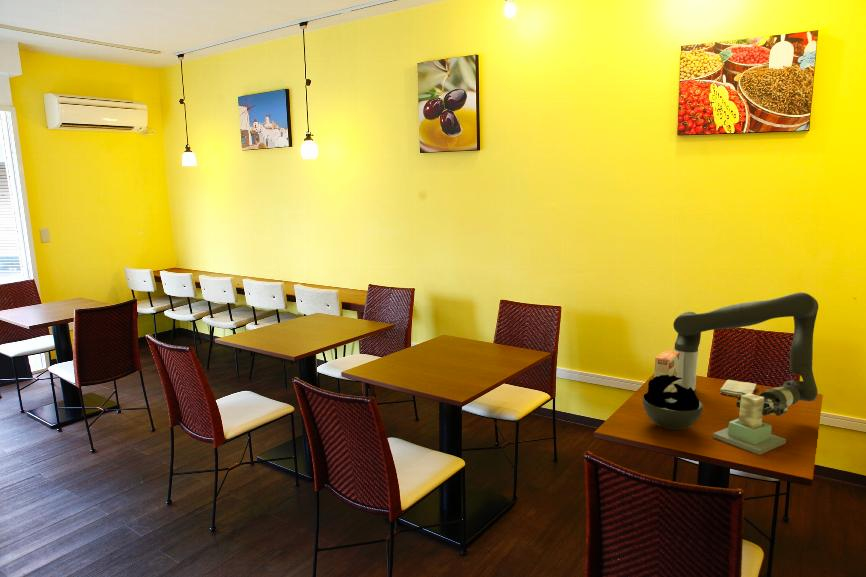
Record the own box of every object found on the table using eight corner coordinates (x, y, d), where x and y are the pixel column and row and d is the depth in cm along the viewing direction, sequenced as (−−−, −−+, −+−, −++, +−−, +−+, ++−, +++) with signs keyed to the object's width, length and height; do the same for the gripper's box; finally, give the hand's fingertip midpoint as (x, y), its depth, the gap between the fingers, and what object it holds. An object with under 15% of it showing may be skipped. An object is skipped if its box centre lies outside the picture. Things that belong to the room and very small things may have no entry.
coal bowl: (651, 412, 219) (654, 365, 216) (707, 425, 207) (711, 376, 203) (632, 429, 204) (635, 378, 201) (691, 444, 191) (695, 391, 188)
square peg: (737, 435, 195) (741, 395, 193) (745, 431, 198) (749, 393, 195) (752, 440, 191) (755, 400, 189) (760, 436, 194) (764, 397, 191)
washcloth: (719, 395, 239) (719, 388, 238) (725, 383, 253) (726, 377, 253) (751, 401, 232) (751, 393, 232) (756, 388, 247) (757, 382, 246)
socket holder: (712, 437, 197) (714, 420, 196) (738, 427, 205) (740, 411, 204) (759, 455, 184) (761, 437, 183) (785, 443, 192) (787, 426, 191)
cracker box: (667, 412, 219) (670, 359, 216) (650, 408, 223) (654, 357, 219) (676, 401, 230) (680, 351, 227) (661, 398, 234) (664, 349, 230)
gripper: (756, 383, 206) (730, 391, 198) (798, 395, 194) (773, 404, 186) (754, 403, 207) (729, 412, 199) (796, 416, 195) (770, 426, 187)
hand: (750, 408), depth 192 cm, fingers open, 8 cm apart
